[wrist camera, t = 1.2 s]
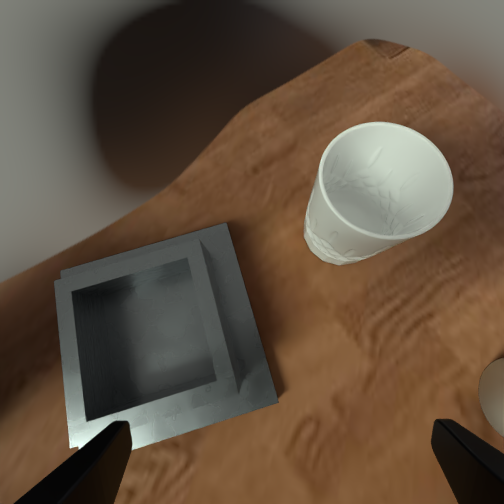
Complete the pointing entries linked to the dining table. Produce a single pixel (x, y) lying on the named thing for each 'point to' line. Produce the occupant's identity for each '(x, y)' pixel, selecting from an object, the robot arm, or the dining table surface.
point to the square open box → (160, 340)
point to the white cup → (375, 192)
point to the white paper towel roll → (493, 394)
